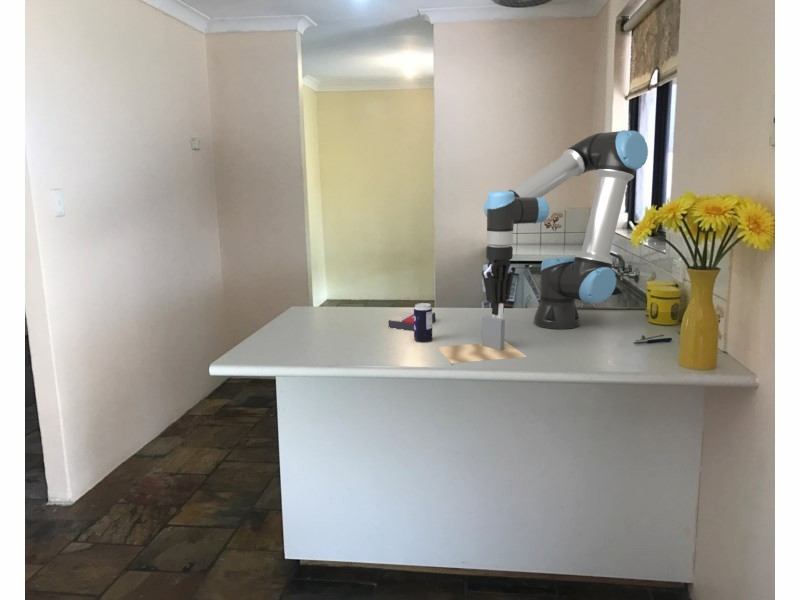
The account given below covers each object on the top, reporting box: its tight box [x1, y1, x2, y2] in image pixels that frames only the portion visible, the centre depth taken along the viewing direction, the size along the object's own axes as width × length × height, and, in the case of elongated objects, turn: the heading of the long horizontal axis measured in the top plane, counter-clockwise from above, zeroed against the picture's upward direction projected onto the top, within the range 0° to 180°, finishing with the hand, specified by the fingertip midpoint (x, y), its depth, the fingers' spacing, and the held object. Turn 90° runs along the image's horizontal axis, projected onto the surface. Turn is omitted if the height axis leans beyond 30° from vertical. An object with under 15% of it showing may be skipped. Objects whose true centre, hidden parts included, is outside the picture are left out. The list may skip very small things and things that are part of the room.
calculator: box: [388, 308, 437, 332], centre depth 204 cm, size 11×4×15 cm
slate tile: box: [481, 315, 506, 351], centre depth 173 cm, size 2×7×9 cm, turn 42°
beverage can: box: [413, 302, 433, 344], centre depth 182 cm, size 6×6×12 cm
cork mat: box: [436, 341, 528, 366], centre depth 170 cm, size 22×16×1 cm
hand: (497, 324), depth 174 cm, fingers closed
